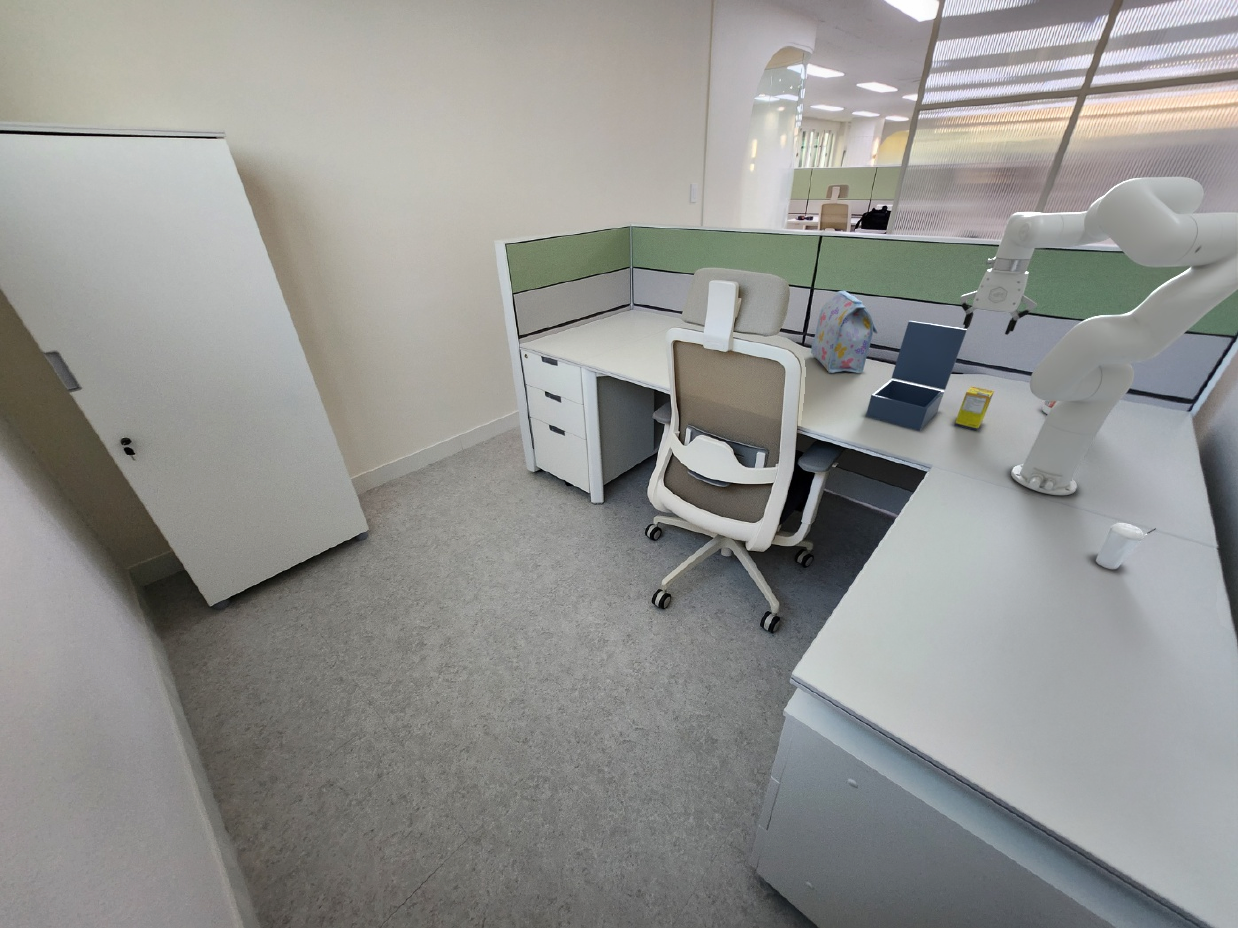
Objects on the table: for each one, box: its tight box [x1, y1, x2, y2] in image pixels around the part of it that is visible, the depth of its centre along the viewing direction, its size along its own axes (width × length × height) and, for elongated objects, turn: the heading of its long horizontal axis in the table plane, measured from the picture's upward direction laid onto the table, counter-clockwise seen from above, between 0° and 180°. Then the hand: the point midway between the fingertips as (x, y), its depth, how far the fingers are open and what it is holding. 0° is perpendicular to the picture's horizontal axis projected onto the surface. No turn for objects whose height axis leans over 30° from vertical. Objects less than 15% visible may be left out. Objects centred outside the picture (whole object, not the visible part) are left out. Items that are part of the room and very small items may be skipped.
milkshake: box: [1095, 522, 1157, 570], centre depth 91 cm, size 4×5×10 cm
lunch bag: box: [810, 290, 879, 374], centre depth 185 cm, size 22×17×26 cm
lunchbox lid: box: [891, 320, 968, 391], centre depth 150 cm, size 18×16×5 cm
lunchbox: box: [865, 378, 945, 432], centre depth 150 cm, size 18×16×7 cm
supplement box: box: [954, 385, 995, 432], centre depth 142 cm, size 6×6×11 cm
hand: (986, 330), depth 134 cm, fingers open, 9 cm apart
